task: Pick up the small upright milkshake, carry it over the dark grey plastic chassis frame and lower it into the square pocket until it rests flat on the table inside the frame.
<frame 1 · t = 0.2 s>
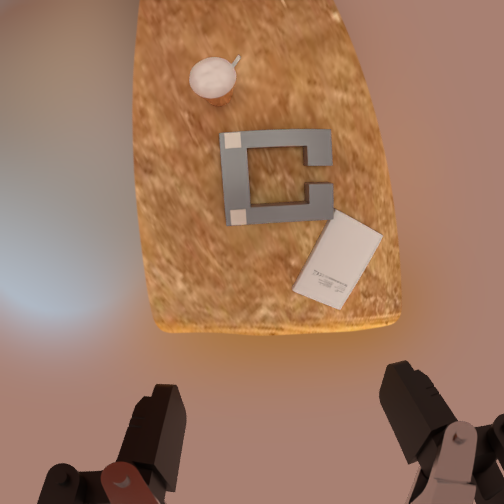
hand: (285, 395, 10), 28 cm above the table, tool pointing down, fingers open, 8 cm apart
external hard drive: (335, 259, 39), on the table
milkshake: (222, 93, 31), on the table
chassis: (276, 174, 34), on the table
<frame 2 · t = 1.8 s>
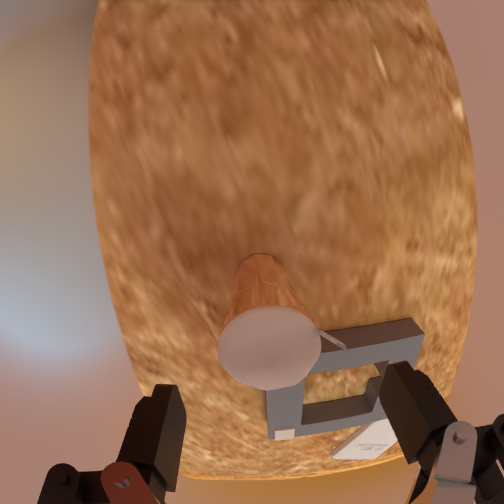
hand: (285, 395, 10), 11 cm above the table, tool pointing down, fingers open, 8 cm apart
external hard drive: (381, 424, 28), on the table
milkshake: (265, 271, 20), on the table
chassis: (336, 377, 23), on the table
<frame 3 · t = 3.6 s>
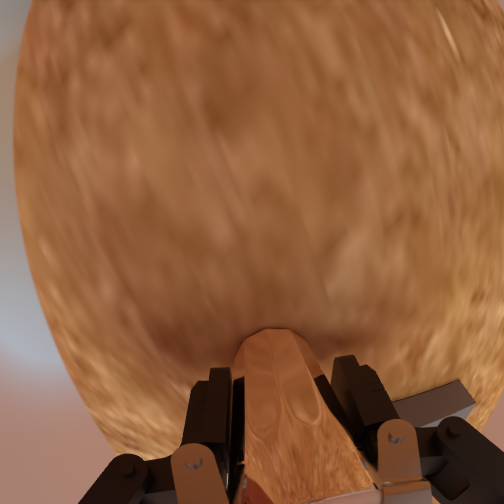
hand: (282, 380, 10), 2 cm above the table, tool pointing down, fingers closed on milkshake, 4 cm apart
milkshake: (279, 349, 12), on the table, touching gripper
chassis: (361, 450, 16), on the table
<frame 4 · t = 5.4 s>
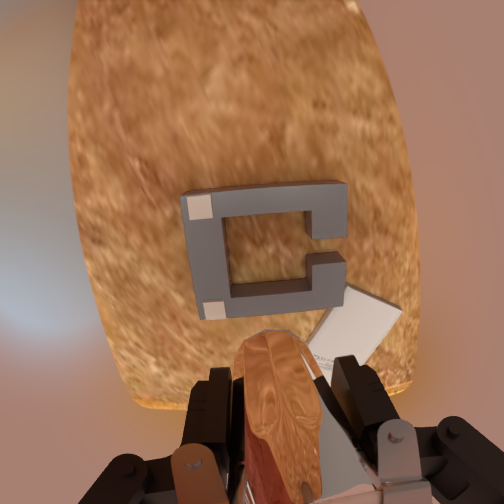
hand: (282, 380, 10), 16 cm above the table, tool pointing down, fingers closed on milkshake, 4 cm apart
external hard drive: (341, 337, 30), on the table
milkshake: (278, 350, 12), point 14 cm above the table, touching gripper
chassis: (267, 246, 25), on the table
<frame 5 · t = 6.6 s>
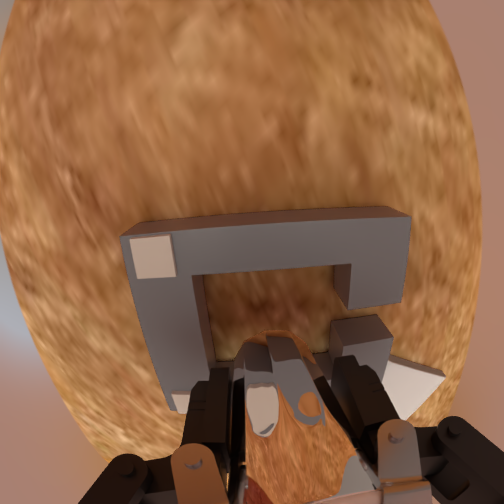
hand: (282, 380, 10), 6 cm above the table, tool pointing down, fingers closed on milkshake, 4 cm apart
external hard drive: (365, 409, 20), on the table
milkshake: (279, 351, 12), point 4 cm above the table, touching gripper
chassis: (271, 310, 16), on the table
when the fingers open (3 cm above the table, at t = 7.3 s): milkshake drops 2 cm, on the table.
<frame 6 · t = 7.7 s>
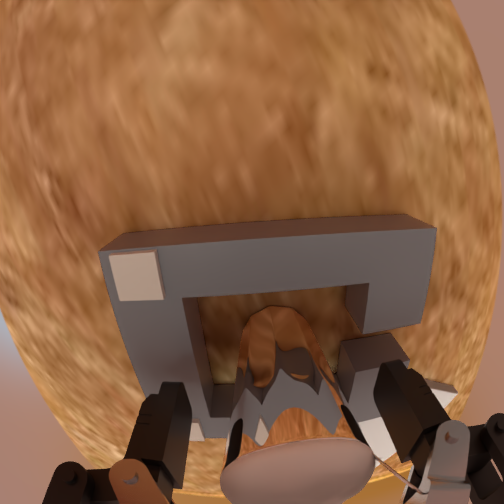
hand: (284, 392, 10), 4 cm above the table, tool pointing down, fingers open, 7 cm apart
external hard drive: (372, 427, 18), on the table
milkshake: (282, 327, 14), on the table
chassis: (274, 331, 14), on the table
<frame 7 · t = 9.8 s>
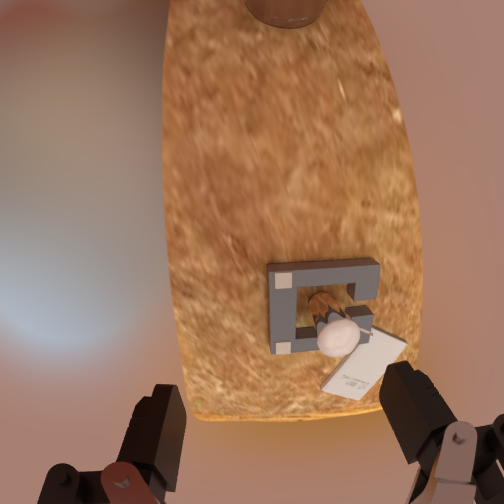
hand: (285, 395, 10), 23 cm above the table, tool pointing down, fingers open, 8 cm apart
external hard drive: (362, 361, 39), on the table
milkshake: (323, 300, 35), on the table
chassis: (320, 302, 35), on the table
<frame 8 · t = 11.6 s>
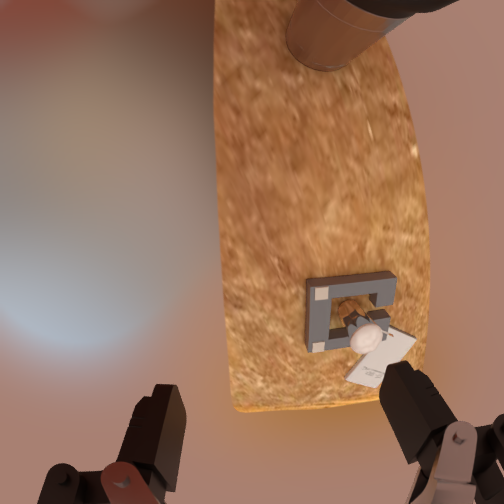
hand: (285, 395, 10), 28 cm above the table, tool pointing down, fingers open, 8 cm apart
external hard drive: (379, 355, 45), on the table
milkshake: (349, 306, 41), on the table
chassis: (347, 308, 41), on the table
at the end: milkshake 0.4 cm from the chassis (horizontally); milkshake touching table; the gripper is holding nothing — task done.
